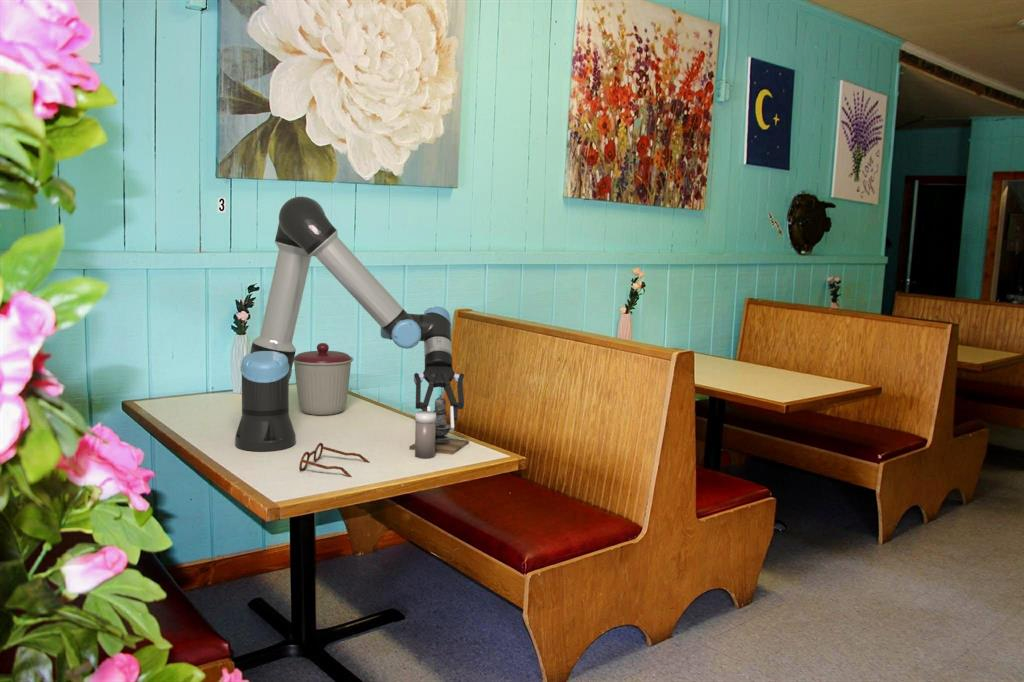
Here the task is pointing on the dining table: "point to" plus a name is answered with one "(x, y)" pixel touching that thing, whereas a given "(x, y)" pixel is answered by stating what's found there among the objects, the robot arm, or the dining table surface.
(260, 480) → the dining table surface
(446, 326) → the robot arm
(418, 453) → the pepper shaker
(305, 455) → the glasses
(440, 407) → the grey tiered figurine
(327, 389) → the canister
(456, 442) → the walnut board
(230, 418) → the dining table surface
